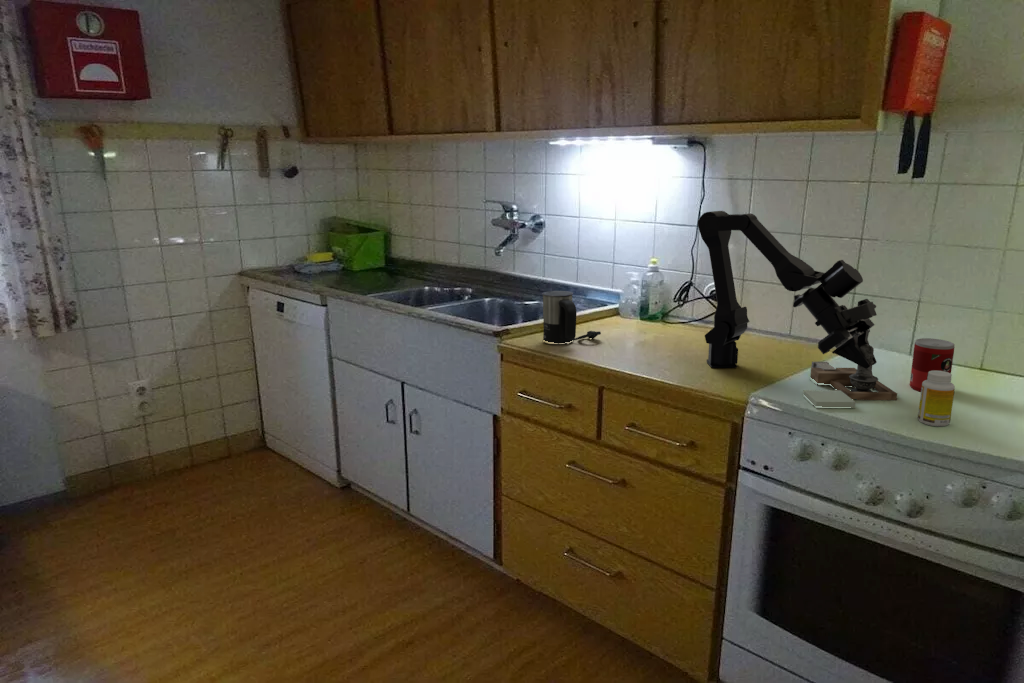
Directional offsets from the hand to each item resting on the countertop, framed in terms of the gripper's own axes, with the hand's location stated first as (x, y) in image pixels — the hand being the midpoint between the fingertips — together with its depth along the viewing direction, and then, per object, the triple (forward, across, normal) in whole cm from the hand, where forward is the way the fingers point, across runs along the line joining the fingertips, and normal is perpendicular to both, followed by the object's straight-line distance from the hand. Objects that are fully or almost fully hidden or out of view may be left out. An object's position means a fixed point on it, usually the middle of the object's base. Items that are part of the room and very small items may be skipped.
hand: (871, 365), depth 157 cm
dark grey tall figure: (+4, 0, +6) cm, 7 cm away
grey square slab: (+2, -12, +8) cm, 14 cm away
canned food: (+11, +13, -1) cm, 17 cm away
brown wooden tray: (+2, +1, +7) cm, 8 cm away
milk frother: (-53, -6, +63) cm, 82 cm away
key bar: (-4, +6, +13) cm, 15 cm away
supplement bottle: (+16, -10, -6) cm, 20 cm away
